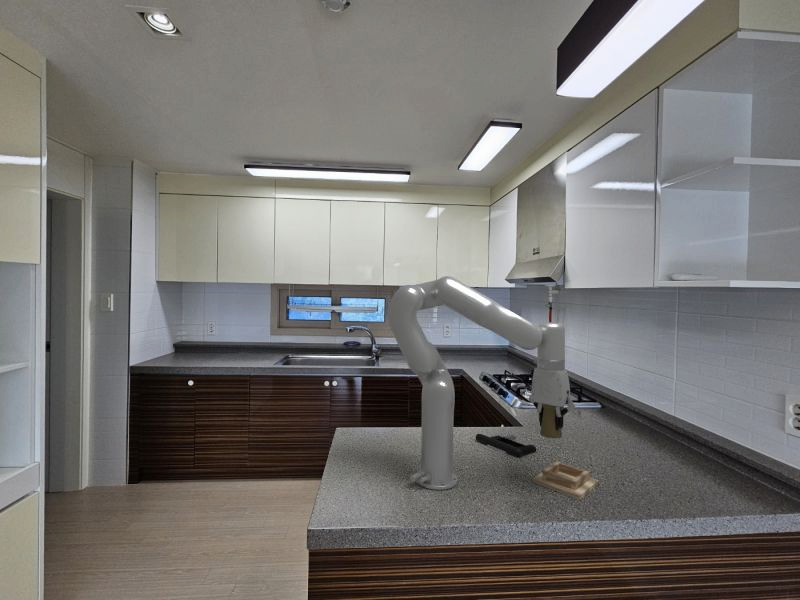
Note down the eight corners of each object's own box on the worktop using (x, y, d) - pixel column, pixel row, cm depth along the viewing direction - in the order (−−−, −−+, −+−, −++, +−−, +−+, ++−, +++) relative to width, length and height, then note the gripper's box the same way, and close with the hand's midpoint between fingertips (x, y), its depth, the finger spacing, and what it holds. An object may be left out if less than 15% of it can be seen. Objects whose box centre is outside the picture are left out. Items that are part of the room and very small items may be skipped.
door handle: (500, 428, 164) (473, 433, 154) (544, 443, 148) (517, 450, 139) (500, 436, 164) (472, 442, 154) (543, 453, 148) (516, 460, 138)
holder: (579, 500, 112) (579, 486, 112) (532, 482, 122) (532, 470, 122) (598, 484, 121) (599, 472, 121) (553, 468, 132) (554, 457, 132)
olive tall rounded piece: (536, 434, 118) (536, 397, 118) (546, 429, 123) (546, 393, 122) (556, 439, 114) (556, 401, 114) (565, 434, 118) (565, 397, 118)
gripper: (518, 363, 122) (518, 423, 122) (573, 370, 109) (573, 438, 110) (531, 360, 127) (531, 418, 127) (585, 367, 114) (585, 431, 115)
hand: (551, 426), depth 118 cm, fingers closed on olive tall rounded piece, 4 cm apart
